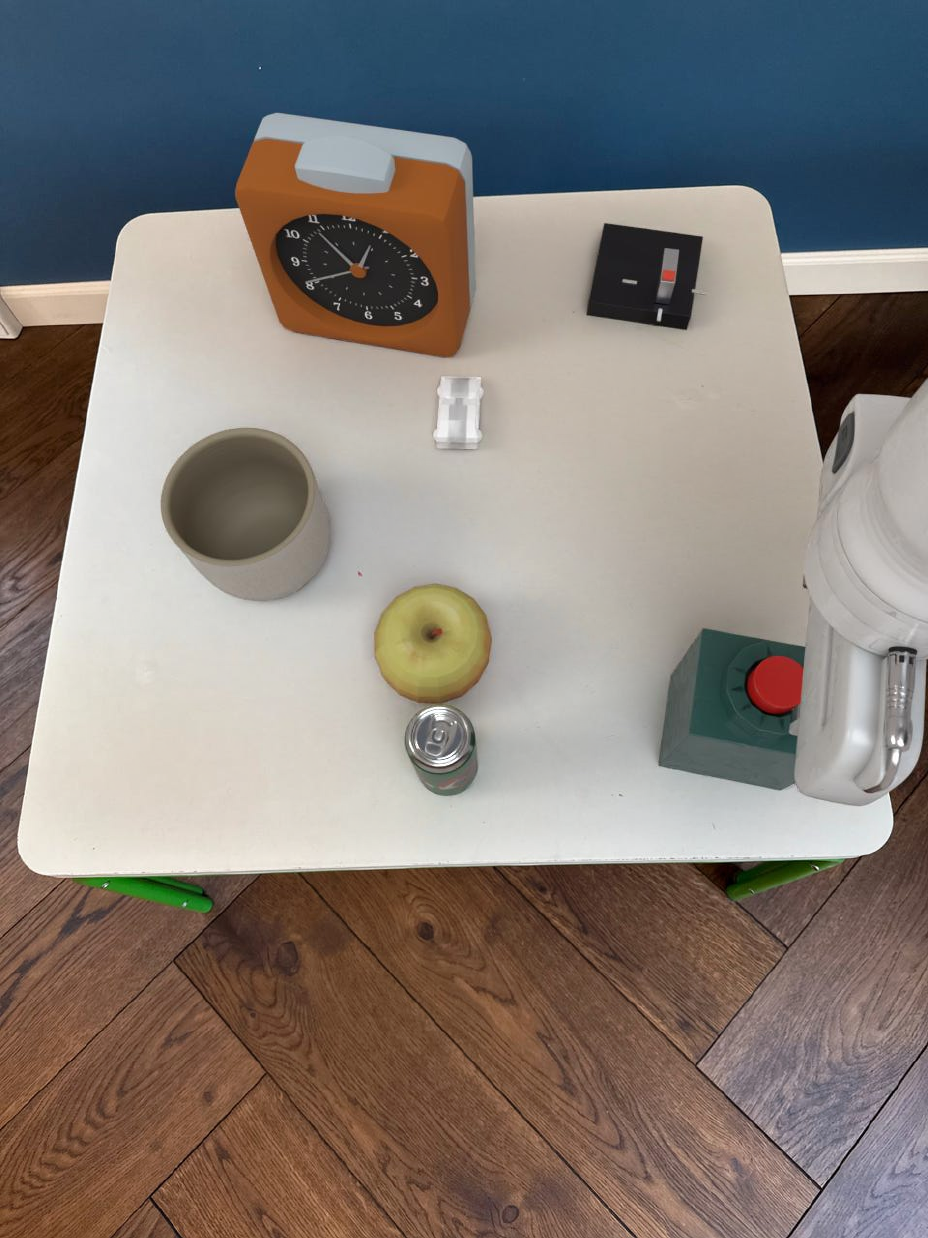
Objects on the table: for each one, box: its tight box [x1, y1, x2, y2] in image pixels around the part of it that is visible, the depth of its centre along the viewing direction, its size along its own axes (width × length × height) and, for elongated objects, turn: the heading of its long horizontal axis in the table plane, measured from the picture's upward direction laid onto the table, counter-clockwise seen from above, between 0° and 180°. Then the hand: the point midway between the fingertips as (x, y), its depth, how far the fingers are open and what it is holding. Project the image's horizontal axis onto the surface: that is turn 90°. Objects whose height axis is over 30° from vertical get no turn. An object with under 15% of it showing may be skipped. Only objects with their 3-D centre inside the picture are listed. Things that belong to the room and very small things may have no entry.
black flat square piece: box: [586, 222, 708, 331], centre depth 87 cm, size 11×11×2 cm
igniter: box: [658, 627, 805, 791], centre depth 66 cm, size 10×8×14 cm
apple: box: [373, 583, 493, 705], centre depth 72 cm, size 10×10×8 cm
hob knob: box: [655, 248, 679, 304], centre depth 84 cm, size 4×1×3 cm, turn 170°
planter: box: [160, 427, 331, 602], centre depth 74 cm, size 12×12×11 cm
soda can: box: [404, 703, 479, 797], centre depth 67 cm, size 5×5×12 cm
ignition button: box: [747, 656, 803, 714], centre depth 59 cm, size 4×4×2 cm
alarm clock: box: [234, 112, 477, 358], centre depth 78 cm, size 18×9×21 cm, turn 77°
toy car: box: [432, 375, 485, 450], centre depth 83 cm, size 5×8×2 cm, turn 177°
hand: (809, 650), depth 53 cm, fingers open, 8 cm apart
